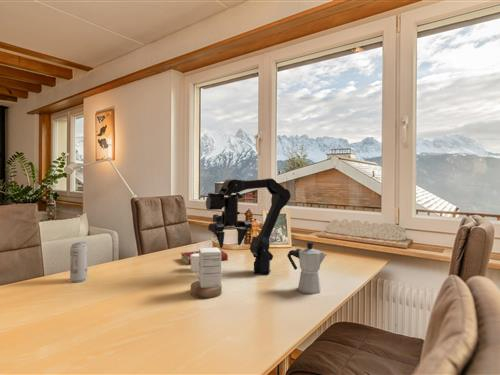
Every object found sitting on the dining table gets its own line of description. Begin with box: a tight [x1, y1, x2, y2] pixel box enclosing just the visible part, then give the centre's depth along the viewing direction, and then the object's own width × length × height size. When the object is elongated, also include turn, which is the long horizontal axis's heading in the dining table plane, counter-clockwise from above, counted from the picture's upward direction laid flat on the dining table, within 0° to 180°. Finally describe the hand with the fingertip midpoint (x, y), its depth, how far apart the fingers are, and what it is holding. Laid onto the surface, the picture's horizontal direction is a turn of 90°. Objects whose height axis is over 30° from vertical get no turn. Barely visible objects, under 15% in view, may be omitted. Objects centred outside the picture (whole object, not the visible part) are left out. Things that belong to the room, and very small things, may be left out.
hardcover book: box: [180, 248, 229, 266], centre depth 159 cm, size 12×21×4 cm, turn 119°
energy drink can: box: [69, 241, 88, 283], centre depth 125 cm, size 6×6×15 cm
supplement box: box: [198, 247, 222, 288], centre depth 113 cm, size 7×7×13 cm
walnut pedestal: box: [190, 280, 223, 300], centre depth 113 cm, size 11×11×3 cm
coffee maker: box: [286, 241, 328, 295], centre depth 117 cm, size 15×9×18 cm, turn 71°
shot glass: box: [190, 253, 199, 273], centre depth 141 cm, size 7×7×7 cm
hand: (230, 246), depth 131 cm, fingers open, 9 cm apart
